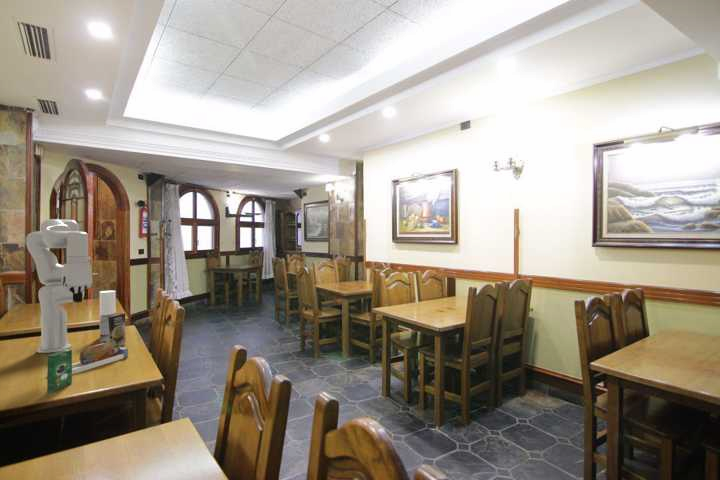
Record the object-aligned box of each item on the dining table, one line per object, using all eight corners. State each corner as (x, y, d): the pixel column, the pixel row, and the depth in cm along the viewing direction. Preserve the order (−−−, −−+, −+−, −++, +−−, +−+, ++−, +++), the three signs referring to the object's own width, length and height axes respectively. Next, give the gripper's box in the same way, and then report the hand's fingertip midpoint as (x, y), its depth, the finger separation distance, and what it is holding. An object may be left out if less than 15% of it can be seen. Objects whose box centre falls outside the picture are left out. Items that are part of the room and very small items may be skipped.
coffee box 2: (110, 350, 176) (110, 317, 176) (99, 349, 178) (99, 316, 177) (126, 344, 185) (126, 313, 185) (115, 343, 187) (115, 312, 186)
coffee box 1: (65, 383, 138) (65, 348, 137) (73, 383, 137) (72, 348, 137) (46, 392, 129) (46, 355, 129) (54, 392, 129) (54, 355, 129)
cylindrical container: (109, 339, 195) (109, 292, 195) (96, 339, 195) (96, 292, 195) (118, 335, 202) (118, 290, 202) (106, 335, 202) (105, 290, 202)
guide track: (47, 376, 144) (47, 366, 143) (118, 355, 169) (118, 346, 169) (57, 379, 141) (57, 369, 141) (127, 357, 167) (127, 348, 167)
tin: (82, 369, 151) (81, 349, 151) (78, 368, 153) (78, 348, 153) (120, 358, 165) (120, 340, 165) (116, 357, 166) (116, 339, 166)
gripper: (90, 258, 167) (90, 298, 168) (52, 260, 153) (52, 304, 154) (100, 259, 164) (101, 299, 165) (62, 261, 150) (63, 305, 151)
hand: (77, 301), depth 159 cm, fingers closed
